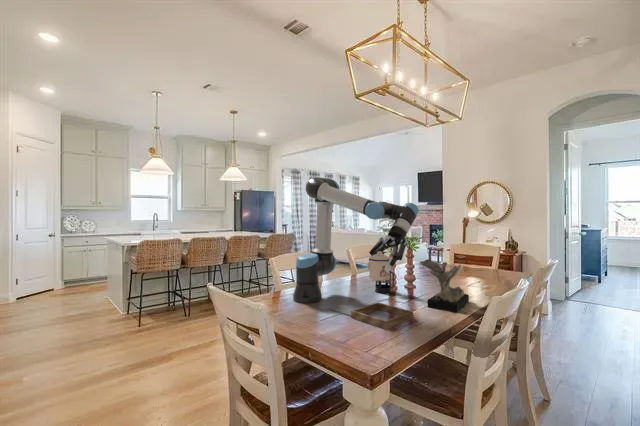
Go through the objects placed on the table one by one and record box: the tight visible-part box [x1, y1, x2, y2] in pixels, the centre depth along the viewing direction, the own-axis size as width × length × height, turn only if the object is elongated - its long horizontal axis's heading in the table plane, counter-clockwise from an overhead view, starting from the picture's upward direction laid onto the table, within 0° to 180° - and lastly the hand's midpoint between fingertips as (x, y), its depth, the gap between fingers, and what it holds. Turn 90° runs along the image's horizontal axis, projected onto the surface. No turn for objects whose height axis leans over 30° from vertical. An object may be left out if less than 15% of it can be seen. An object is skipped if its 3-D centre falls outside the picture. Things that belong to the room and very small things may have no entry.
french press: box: [374, 251, 395, 295], centre depth 185 cm, size 12×9×23 cm
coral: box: [419, 259, 470, 313], centre depth 161 cm, size 25×20×22 cm
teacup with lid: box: [368, 251, 391, 281], centre depth 140 cm, size 12×9×12 cm
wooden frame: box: [350, 302, 414, 330], centre depth 141 cm, size 19×19×3 cm
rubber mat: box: [327, 301, 366, 317], centre depth 153 cm, size 15×15×1 cm
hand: (377, 269), depth 138 cm, fingers closed on teacup with lid, 9 cm apart
